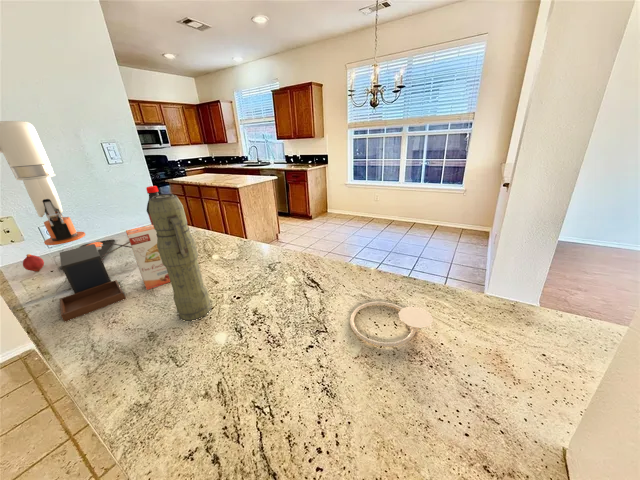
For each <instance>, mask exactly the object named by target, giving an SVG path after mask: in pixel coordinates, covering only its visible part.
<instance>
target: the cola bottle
mask: <svg viewBox="0 0 640 480" xmlns="http://www.w3.org/2000/svg"><path fill="white" fill-rule="evenodd" d="M145 190H146V193H147V195H148V201H147V204H146V213H147V215H148V219H149V221H150V225H153V222H152V219H151V216H150V213H149V199H151V198H152V197H154V196H157V195H160V193H159V192H160V191H159V188H158V186H157V185H149V186H147V187H145Z"/></svg>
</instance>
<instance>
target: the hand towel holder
mask: <svg viewBox="0 0 640 480" xmlns="http://www.w3.org/2000/svg"><path fill="white" fill-rule="evenodd" d="M372 305H377V306H380V305H385V306H384V307H388V306H390V307H389V308H392V307H394V308H393V309H395V308H396V309H395V310H397V309H398V311H399V310H400V311H399V312H397V314H398V318H399V320H400V321H401V322H402V323H404V324H405V325H406V326H408V327H409V329H410V333H409V334H408V335H407V337H405V338H403V339H401V340H397V341H389V342H388V341H387V342H386V341H385V342H384V341H377V340H374V339H371V338H369V337H367V336H365V335H364V334H362V333H360V332H359V331H358V329H357V327H356V326H355V325H356V324H355V317H356V315H357V313H359V312H360V311H361V310H363V309H365V308H368V307H367V306H369V307H373V306H372ZM359 310H360V311H359ZM433 321H434V318H433V316H432V314H431V312H429V311H427V310H426V309H424V308H422V307H419V306H412V305H410V306H406V307H401V306H399V305H397V304H395V303H391V302H386V301H371V302H370V301H369V302H366V303H364V304H361V305H359V306H357V307H356V308H355V309H354V310H353V312H352V313H351V315H350V319H349V324H350V328H351V329H352V331H353V333H354V334H355V335H356V336H357V337H358V336H359V337H360V338H361V339H360V338H359V337H358V338H359V339H360V340H362V339H363V340H362V341H364V342H365V343H367V342H368V343H367V344H370V343H371V344H370V345H373V344H374V345H373V346H376V345H377V346H376V347H381V346H384V347H383V348H393V347H392V346H395V347H399V346H402V345H404V344H406V343H408V342H409V341H411V340H412V338H414V336H415V335H416V333H417V332H418V331H419V330H420V329H423V328H426V327H430V326H431V325H432V324H433ZM398 345H399V346H398Z"/></svg>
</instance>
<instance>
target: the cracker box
mask: <svg viewBox="0 0 640 480" xmlns="http://www.w3.org/2000/svg"><path fill="white" fill-rule="evenodd" d="M125 233H126V236H127V238H128V242H129V241H130V243H129V244H130V246H131V247H132V248H131V250H132V253H133V256H134V258H135V261H136V264H137V267H138V270H139V273H140V275H141V278H142V281H143V285H144V287H145V289H146V290H147V291H148V290H151V289H154V288H157V287H160V286H163V285H165V284H169V283H171V282H170V278H169V275H168V272H167V269H166V267H165V266H164V265H163V263H162V260H161V257H160V254H159V251H158V248H157V235H156V234H157V232H156V230H155V229H154V226H153V225H151V224H150V225H146V226H140V227H136V228H131V229H127V230H125Z"/></svg>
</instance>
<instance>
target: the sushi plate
mask: <svg viewBox="0 0 640 480" xmlns="http://www.w3.org/2000/svg"><path fill="white" fill-rule="evenodd" d="M115 242H116V239H105V240H101V241H95V242H91V243H90V242H89V243H84V244H81V245H79V247H78V248H80V247H84V246H88V245H92V244H95V246H96V248H97V250H98V252H99V254H100V257H101V259H102V261H103V260H104V258H105V257H106V256H107V255H108V254H111V253H112V252H114V251H116V250H118V249H120V248H122V247H125V248H130V249H132V247H131V245H128V244H130V241H129V240H128V241H127V242H126V243H124V244H119V243H115ZM113 246H118V247H116V248H115V249H113V250H111V249H112V248H113ZM110 250H111V251H110ZM59 270H60V271H61V270H62V271H63V269H62V267H61V265H60V266H59Z"/></svg>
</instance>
